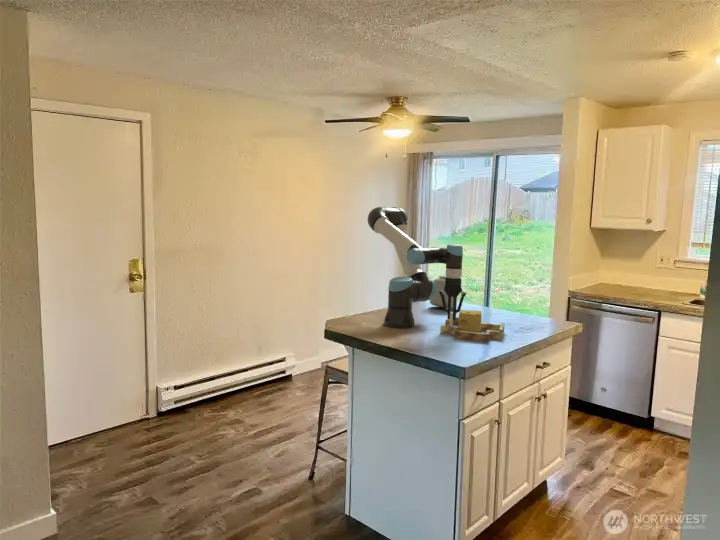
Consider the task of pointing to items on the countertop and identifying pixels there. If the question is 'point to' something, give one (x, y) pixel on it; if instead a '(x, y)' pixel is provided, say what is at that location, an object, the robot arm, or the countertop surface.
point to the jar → (437, 297)
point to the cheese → (470, 321)
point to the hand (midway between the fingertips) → (451, 326)
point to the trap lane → (491, 332)
